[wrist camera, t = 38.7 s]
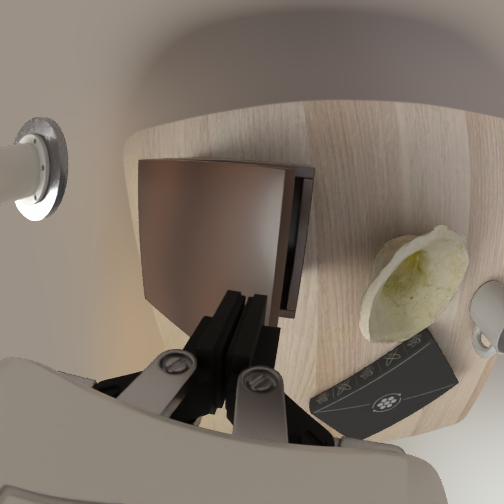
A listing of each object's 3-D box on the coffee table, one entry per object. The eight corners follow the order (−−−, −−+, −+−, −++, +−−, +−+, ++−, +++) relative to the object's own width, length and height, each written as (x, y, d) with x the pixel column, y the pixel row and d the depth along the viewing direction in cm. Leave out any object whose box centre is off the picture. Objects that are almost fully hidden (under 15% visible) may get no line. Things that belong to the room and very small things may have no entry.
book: (424, 323, 32) (431, 335, 29) (453, 371, 34) (459, 382, 31) (308, 398, 39) (308, 411, 37) (354, 431, 41) (355, 443, 38)
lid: (296, 169, 12) (285, 168, 11) (268, 382, 16) (260, 389, 15) (146, 159, 21) (138, 159, 20) (151, 296, 25) (144, 298, 24)
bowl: (394, 334, 33) (414, 383, 24) (323, 279, 32) (330, 326, 23) (466, 255, 28) (507, 287, 19) (402, 183, 27) (442, 195, 18)
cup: (507, 286, 28) (537, 314, 19) (476, 339, 31) (499, 372, 23) (483, 273, 28) (517, 301, 20) (451, 330, 32) (475, 367, 23)
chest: (309, 165, 28) (314, 168, 19) (296, 272, 33) (294, 319, 23) (190, 157, 30) (145, 159, 21) (188, 258, 35) (150, 295, 25)
